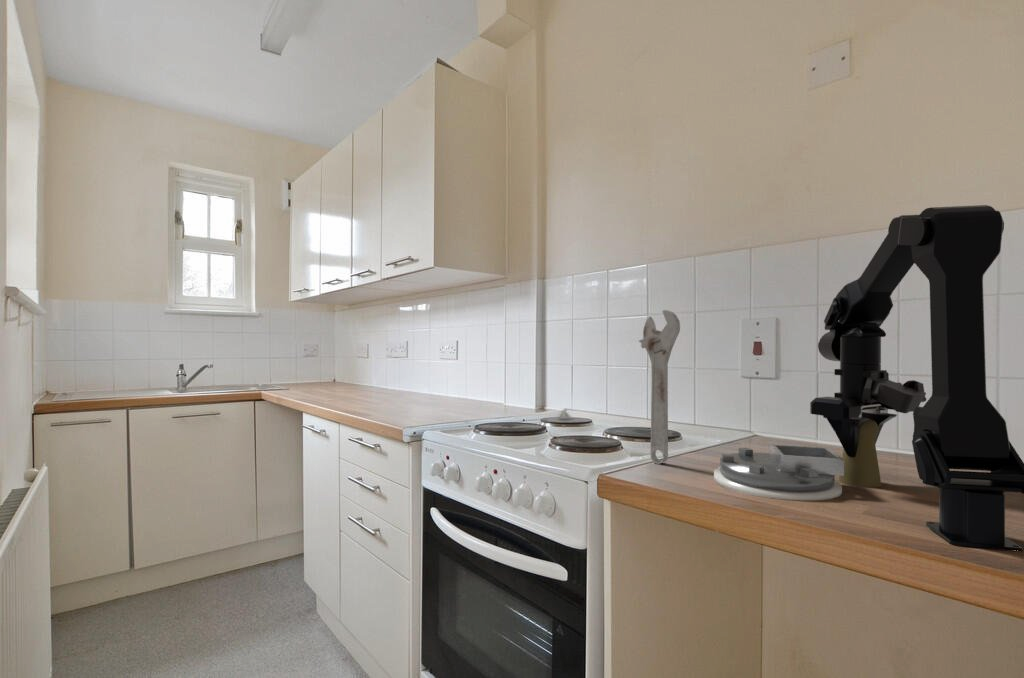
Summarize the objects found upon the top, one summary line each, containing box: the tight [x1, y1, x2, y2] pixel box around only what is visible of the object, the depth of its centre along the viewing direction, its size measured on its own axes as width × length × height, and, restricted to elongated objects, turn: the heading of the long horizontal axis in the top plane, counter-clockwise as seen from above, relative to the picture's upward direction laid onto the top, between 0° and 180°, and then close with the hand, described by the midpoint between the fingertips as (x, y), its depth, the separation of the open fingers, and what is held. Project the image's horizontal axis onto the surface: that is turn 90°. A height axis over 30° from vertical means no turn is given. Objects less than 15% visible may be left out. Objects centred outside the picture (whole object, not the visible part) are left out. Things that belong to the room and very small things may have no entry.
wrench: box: [638, 309, 681, 465], centre depth 98 cm, size 8×2×30 cm, turn 46°
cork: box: [838, 419, 882, 488], centre depth 85 cm, size 6×6×11 cm
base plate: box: [713, 466, 843, 501], centre depth 84 cm, size 19×19×1 cm
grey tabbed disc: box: [719, 443, 844, 492], centre depth 84 cm, size 17×17×4 cm
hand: (859, 455), depth 85 cm, fingers closed on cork, 4 cm apart
